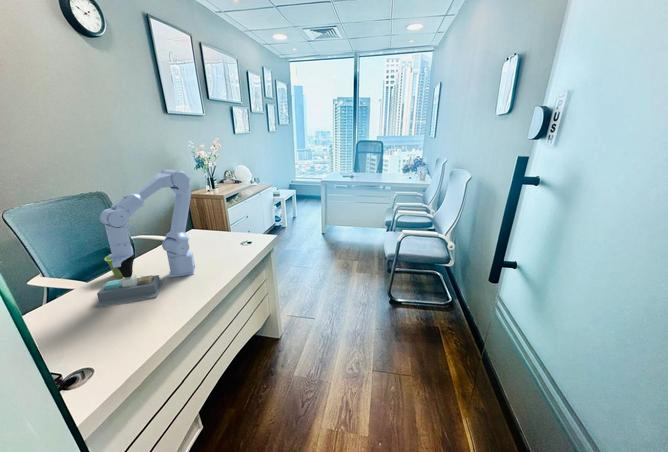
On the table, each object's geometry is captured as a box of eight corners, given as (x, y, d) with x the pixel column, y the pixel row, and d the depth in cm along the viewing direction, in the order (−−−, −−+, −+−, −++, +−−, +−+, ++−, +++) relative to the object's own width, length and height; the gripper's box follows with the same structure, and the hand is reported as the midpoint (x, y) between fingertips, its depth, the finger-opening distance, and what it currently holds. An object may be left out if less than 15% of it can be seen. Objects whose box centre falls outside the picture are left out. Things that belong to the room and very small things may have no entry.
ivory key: (137, 282, 100) (135, 274, 99) (134, 287, 97) (132, 279, 96) (126, 284, 99) (124, 276, 98) (123, 289, 95) (120, 280, 94)
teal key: (122, 287, 98) (120, 279, 97) (119, 292, 95) (116, 284, 94) (110, 289, 97) (108, 281, 96) (106, 294, 94) (104, 286, 93)
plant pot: (122, 281, 106) (117, 262, 104) (103, 278, 108) (98, 259, 105) (142, 270, 115) (138, 252, 112) (124, 268, 117) (120, 250, 114)
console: (163, 280, 108) (161, 272, 106) (156, 297, 96) (154, 288, 95) (109, 288, 101) (106, 279, 100) (94, 307, 90) (91, 297, 88)
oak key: (153, 283, 102) (151, 275, 101) (151, 287, 99) (149, 279, 98) (142, 284, 101) (140, 276, 100) (140, 289, 98) (138, 281, 97)
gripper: (113, 236, 97) (121, 269, 101) (97, 251, 84) (107, 288, 89) (136, 234, 100) (143, 266, 104) (123, 248, 87) (132, 284, 91)
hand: (128, 276), depth 96 cm, fingers closed
